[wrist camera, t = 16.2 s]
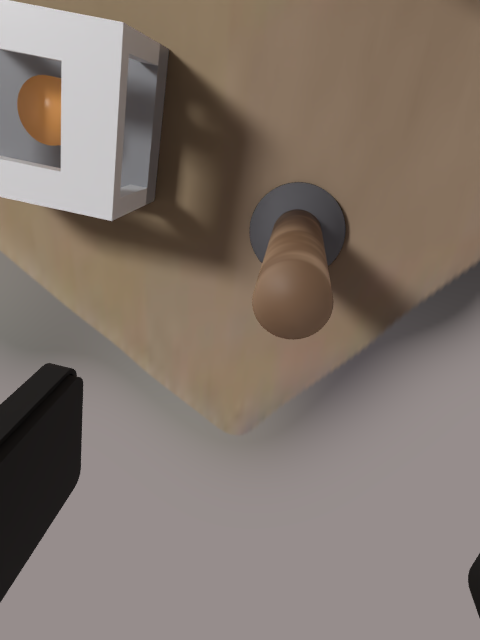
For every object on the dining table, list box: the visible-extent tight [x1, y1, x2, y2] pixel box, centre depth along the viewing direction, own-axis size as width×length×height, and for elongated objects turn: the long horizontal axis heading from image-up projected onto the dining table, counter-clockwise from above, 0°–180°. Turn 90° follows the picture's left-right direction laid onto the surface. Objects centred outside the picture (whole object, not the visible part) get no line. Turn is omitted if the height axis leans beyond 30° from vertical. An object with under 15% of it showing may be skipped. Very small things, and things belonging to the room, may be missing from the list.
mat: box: [250, 182, 345, 266], centre depth 32 cm, size 7×7×1 cm
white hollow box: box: [0, 0, 169, 221], centre depth 28 cm, size 12×10×8 cm
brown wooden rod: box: [252, 209, 333, 339], centre depth 26 cm, size 4×4×14 cm
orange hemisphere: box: [17, 75, 61, 146], centre depth 28 cm, size 4×4×2 cm
